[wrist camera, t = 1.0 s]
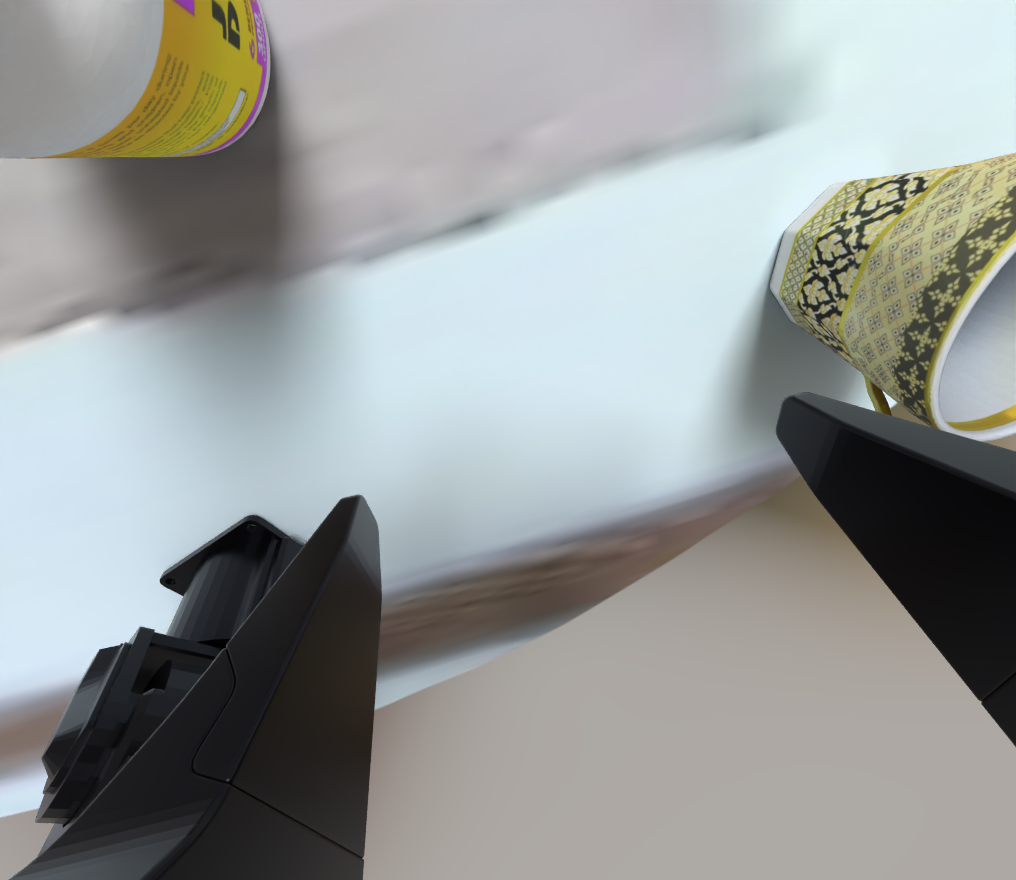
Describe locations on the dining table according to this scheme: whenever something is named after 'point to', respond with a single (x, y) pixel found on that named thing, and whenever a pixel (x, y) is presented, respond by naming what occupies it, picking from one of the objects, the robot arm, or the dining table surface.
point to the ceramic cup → (915, 290)
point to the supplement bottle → (129, 76)
